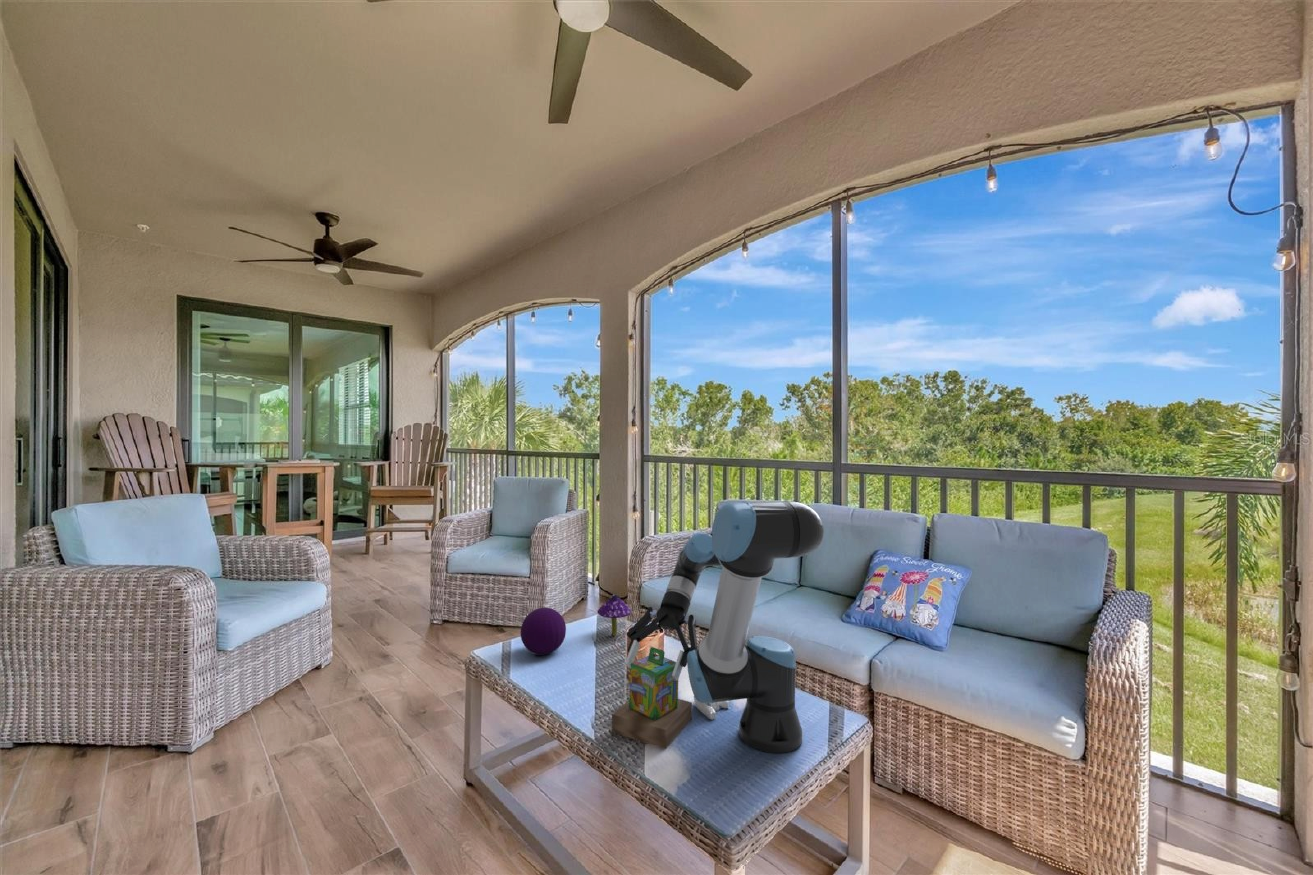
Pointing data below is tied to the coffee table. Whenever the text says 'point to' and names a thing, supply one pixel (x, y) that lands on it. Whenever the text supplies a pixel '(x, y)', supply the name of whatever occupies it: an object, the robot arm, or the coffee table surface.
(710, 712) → the white creature statuette
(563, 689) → the coffee table surface
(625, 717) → the walnut block
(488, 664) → the coffee table surface
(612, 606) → the decorative mushroom
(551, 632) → the toy ball
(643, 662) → the chalk box
